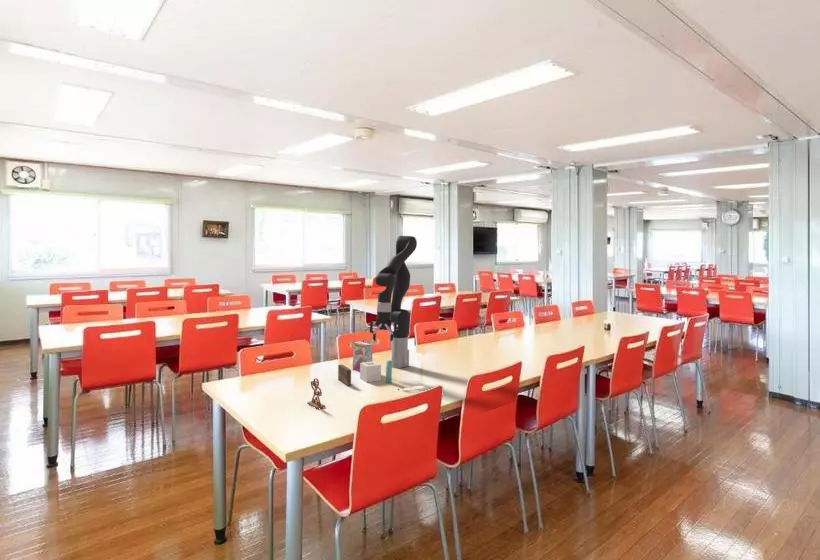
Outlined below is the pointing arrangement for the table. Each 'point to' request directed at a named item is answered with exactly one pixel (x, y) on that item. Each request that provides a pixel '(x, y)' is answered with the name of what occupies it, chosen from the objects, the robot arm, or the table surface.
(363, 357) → the candy bar box
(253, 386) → the table surface
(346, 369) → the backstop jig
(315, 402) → the brown carved figurine
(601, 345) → the table surface
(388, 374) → the teal dowel
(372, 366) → the socket block
